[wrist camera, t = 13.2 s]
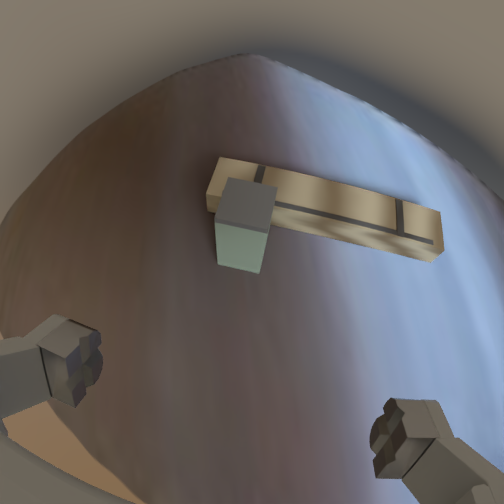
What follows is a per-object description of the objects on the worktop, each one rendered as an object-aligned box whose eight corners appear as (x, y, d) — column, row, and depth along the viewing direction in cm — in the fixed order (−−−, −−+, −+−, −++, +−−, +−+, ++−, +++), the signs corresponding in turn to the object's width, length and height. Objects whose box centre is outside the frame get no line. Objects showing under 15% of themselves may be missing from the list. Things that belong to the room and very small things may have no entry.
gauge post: (267, 237, 32) (277, 187, 25) (259, 273, 31) (268, 229, 23) (228, 228, 33) (228, 177, 25) (217, 264, 31) (214, 217, 24)
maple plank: (427, 225, 35) (440, 211, 32) (430, 262, 32) (445, 249, 29) (220, 175, 36) (219, 156, 33) (207, 211, 33) (205, 192, 30)
